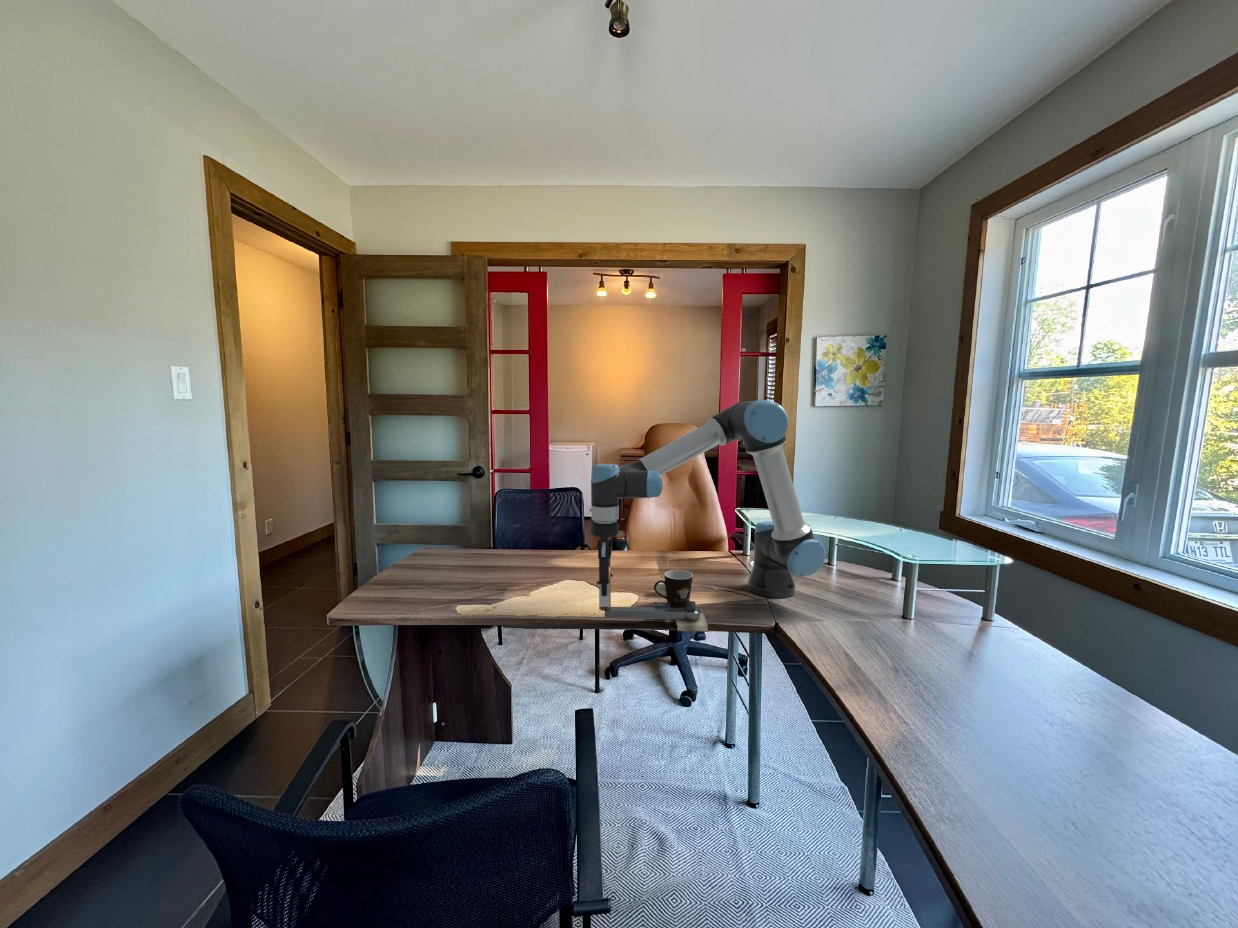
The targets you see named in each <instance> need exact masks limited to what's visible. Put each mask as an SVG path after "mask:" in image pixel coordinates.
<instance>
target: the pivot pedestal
mask: <svg viewBox="0 0 1238 928" xmlns="http://www.w3.org/2000/svg"><path fill="white" fill-rule="evenodd" d="M695 607H696V602H695V600H694V601H693V600H689V601H688V602H687V610H689V611H695ZM675 623H676V628H677V632H709V629H708V628H709V625H708V623H707V619H706V616H705V614H704V613H701V612H700V619H699V620H696V621H689V620H686V619H675Z"/></svg>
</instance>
